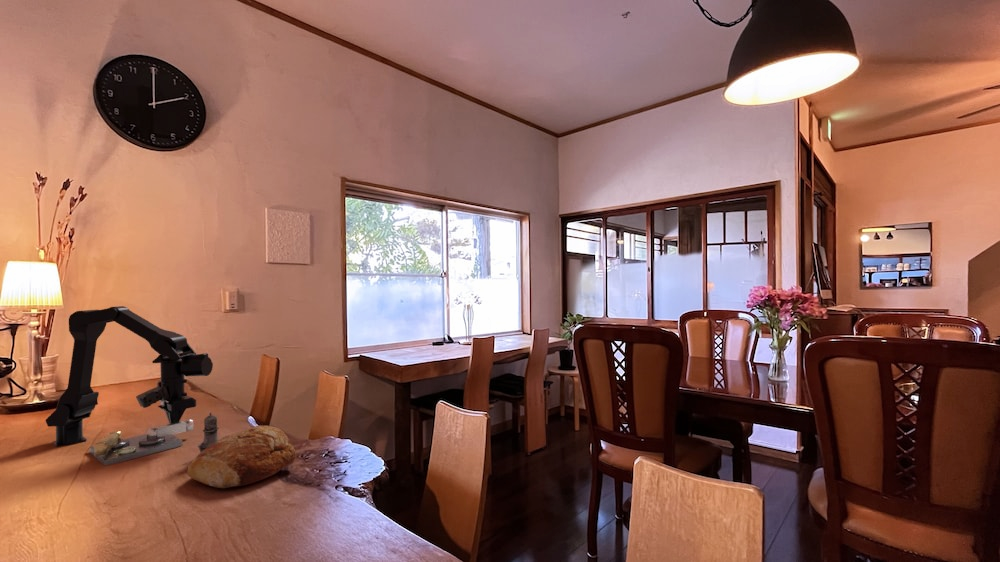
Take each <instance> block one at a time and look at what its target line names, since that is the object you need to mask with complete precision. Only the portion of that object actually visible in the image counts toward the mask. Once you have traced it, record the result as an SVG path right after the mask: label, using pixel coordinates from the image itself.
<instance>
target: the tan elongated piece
mask: <svg viewBox="0 0 1000 562" xmlns="http://www.w3.org/2000/svg"><path fill="white" fill-rule="evenodd" d="M128 444H129V440H128V439H127V438H124V439H122V431H121V430H115V431H112V432H109V434H108V435H107V436H105V437H104V438H103V439H100V441H98V442H96V443H94V445H93V446H94V452H95V456H101V455H105V454H107V451H109V450H110V449H116V448H120V447H123V446H126V445H128Z"/></svg>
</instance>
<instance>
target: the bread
mask: <svg viewBox="0 0 1000 562" xmlns="http://www.w3.org/2000/svg"><path fill="white" fill-rule="evenodd" d="M296 458H297V452H296V450H295V447H294V446H293V444H291V443H290V439H289V438H288V436H287V435H286V434H285V432H284V431H283V430H282V429H280V428H278V427H275V426H270V425H256V426H251V427H247V428H245V429H242V430H239V431H238V432H235V433H231V434H228V435H226V436H224V437H222V438H219V440H218V441H216V442H215V443H213V444H211V445H210V446H208V447H207V448H206V449H204V450H203V451H202V452H199V454H198V455H196V457H195V458H194V459H193V460H192V461H191V462H190V463H189V464H188V465H187V472H186V473H187V476H188V477H190V478H191V479H193V480H195V481H196V482H199V483H202V484H204V485H206V486H210V487H214V488H219V489H228V488H233V487H242V486H247V485H251V484H254V483H257V482H259V481H261V480H264V479H267V478H269V477H271V476H273V475H275V474H277V473H279V472H280V471H282V470H283V469H285V468H286V467H288V466H291V464H293V463H294V461H296Z"/></svg>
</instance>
